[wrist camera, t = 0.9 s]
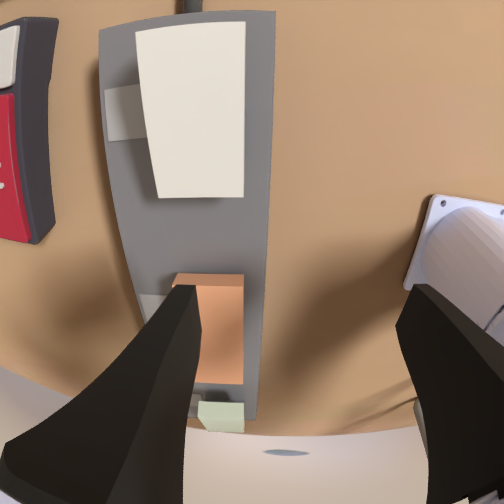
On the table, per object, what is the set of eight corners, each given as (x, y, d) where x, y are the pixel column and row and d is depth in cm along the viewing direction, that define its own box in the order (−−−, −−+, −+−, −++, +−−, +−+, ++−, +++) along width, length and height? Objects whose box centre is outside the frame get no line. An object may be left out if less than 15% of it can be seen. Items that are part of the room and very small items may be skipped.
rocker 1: (245, 21, 8) (244, 21, 7) (244, 179, 13) (243, 197, 12) (148, 29, 8) (135, 32, 7) (166, 180, 13) (158, 198, 12)
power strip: (272, -101, 6) (277, -134, 3) (255, 396, 30) (255, 428, 26) (137, -88, 6) (113, -113, 3) (183, 393, 30) (179, 424, 26)
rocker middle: (243, 274, 16) (243, 286, 14) (243, 369, 18) (243, 384, 17) (177, 273, 16) (172, 284, 14) (189, 367, 18) (186, 381, 17)
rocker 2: (243, 402, 21) (243, 419, 20) (244, 420, 26) (244, 432, 25) (198, 401, 21) (197, 416, 20) (208, 418, 26) (207, 431, 25)
